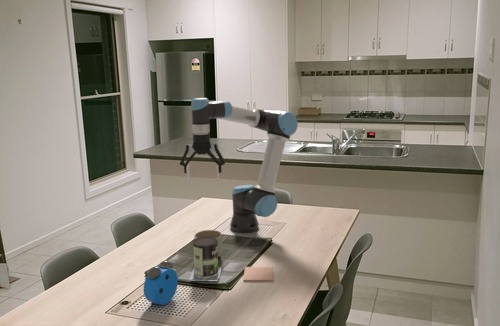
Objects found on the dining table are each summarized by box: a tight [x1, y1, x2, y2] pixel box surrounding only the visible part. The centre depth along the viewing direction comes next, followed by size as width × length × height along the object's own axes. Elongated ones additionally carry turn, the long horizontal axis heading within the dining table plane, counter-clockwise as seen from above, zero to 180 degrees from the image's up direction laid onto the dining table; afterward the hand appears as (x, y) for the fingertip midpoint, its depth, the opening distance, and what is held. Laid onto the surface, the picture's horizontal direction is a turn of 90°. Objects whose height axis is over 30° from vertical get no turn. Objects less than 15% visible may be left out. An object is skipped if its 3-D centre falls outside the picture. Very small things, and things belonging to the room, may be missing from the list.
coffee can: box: [192, 237, 219, 278], centre depth 192 cm, size 10×10×14 cm
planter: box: [194, 229, 223, 258], centre depth 210 cm, size 12×12×11 cm
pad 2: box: [243, 266, 274, 283], centre depth 192 cm, size 12×12×1 cm
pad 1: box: [188, 266, 223, 281], centre depth 193 cm, size 12×12×1 cm
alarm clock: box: [143, 259, 179, 306], centre depth 171 cm, size 13×6×15 cm, turn 152°
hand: (203, 180), depth 210 cm, fingers open, 13 cm apart
